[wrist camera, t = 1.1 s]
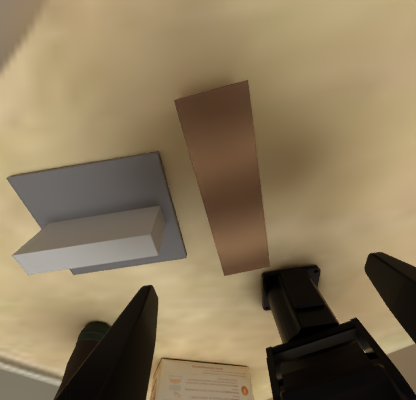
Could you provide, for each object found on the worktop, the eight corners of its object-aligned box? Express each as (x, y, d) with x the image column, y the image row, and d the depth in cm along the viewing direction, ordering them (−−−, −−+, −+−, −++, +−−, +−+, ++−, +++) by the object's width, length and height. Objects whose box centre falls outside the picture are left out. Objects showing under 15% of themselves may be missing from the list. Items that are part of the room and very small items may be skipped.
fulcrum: (186, 254, 20) (184, 292, 17) (76, 271, 21) (47, 312, 17) (158, 151, 15) (144, 170, 11) (11, 175, 16) (-52, 202, 12)
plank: (257, 236, 20) (270, 266, 17) (219, 244, 21) (224, 275, 17) (234, 84, 14) (247, 80, 10) (180, 98, 14) (174, 100, 10)
